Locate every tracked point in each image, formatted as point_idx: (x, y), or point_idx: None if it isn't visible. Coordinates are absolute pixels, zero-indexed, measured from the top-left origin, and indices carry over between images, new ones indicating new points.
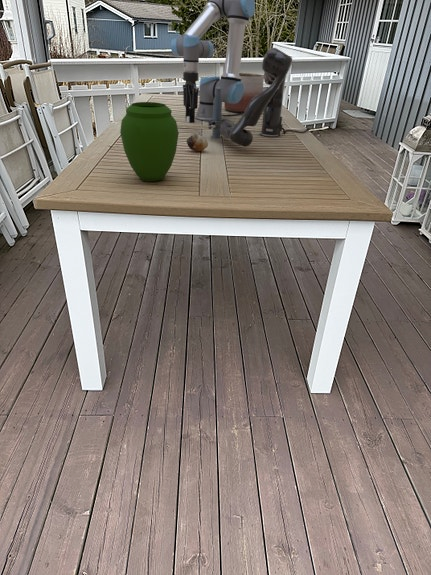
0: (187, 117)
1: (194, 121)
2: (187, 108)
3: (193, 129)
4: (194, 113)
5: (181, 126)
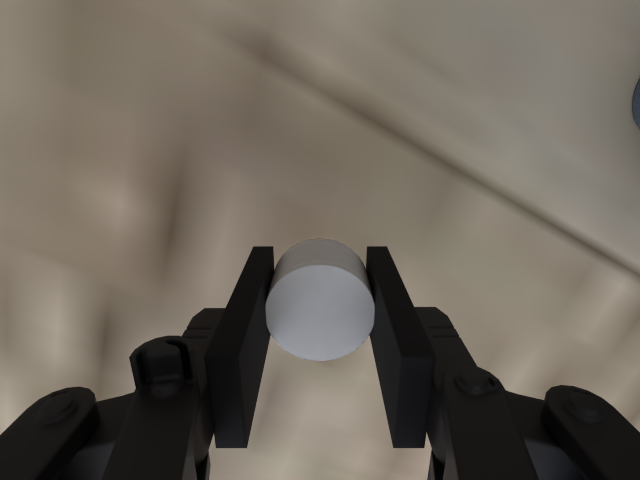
0: (334, 354)
1: (389, 255)
2: (248, 423)
3: (227, 149)
4: (457, 338)
5: (47, 205)
